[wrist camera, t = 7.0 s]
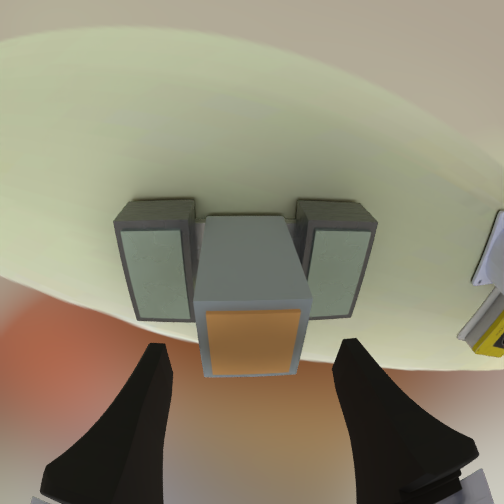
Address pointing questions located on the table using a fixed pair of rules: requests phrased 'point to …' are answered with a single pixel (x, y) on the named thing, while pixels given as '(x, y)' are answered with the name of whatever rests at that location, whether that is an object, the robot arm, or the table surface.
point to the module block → (250, 298)
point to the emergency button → (486, 327)
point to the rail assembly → (190, 242)
